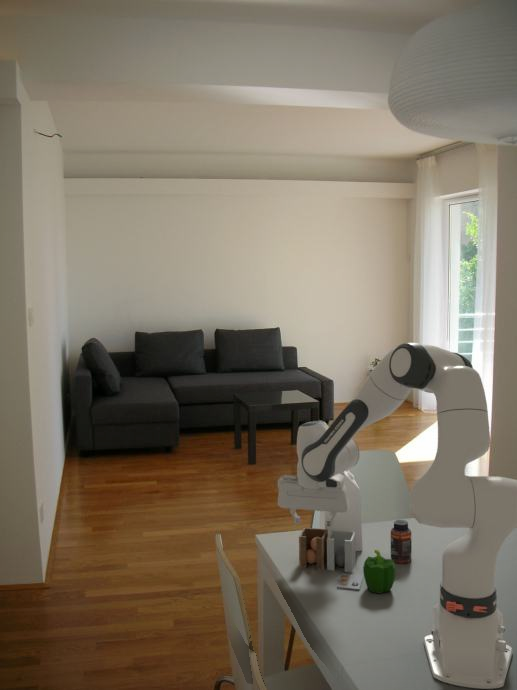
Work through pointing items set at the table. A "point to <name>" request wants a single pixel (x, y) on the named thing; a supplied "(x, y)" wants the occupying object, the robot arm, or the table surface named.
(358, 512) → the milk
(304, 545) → the walnut tube
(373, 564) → the bell pepper
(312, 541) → the loose ball
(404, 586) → the table surface
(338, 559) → the tube ball charcoal
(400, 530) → the supplement bottle
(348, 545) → the grey tube
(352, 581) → the card
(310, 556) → the tube ball terracotta
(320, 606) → the table surface
